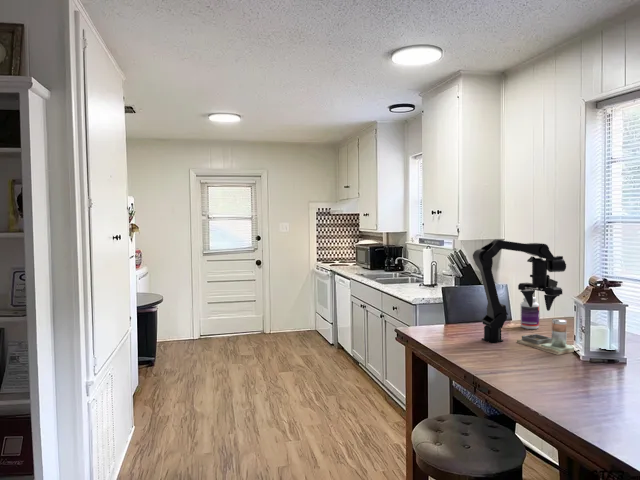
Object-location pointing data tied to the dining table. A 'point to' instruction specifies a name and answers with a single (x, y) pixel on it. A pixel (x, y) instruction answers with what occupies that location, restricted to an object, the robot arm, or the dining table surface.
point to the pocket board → (544, 344)
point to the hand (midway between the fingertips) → (539, 308)
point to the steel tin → (559, 332)
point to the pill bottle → (530, 314)
